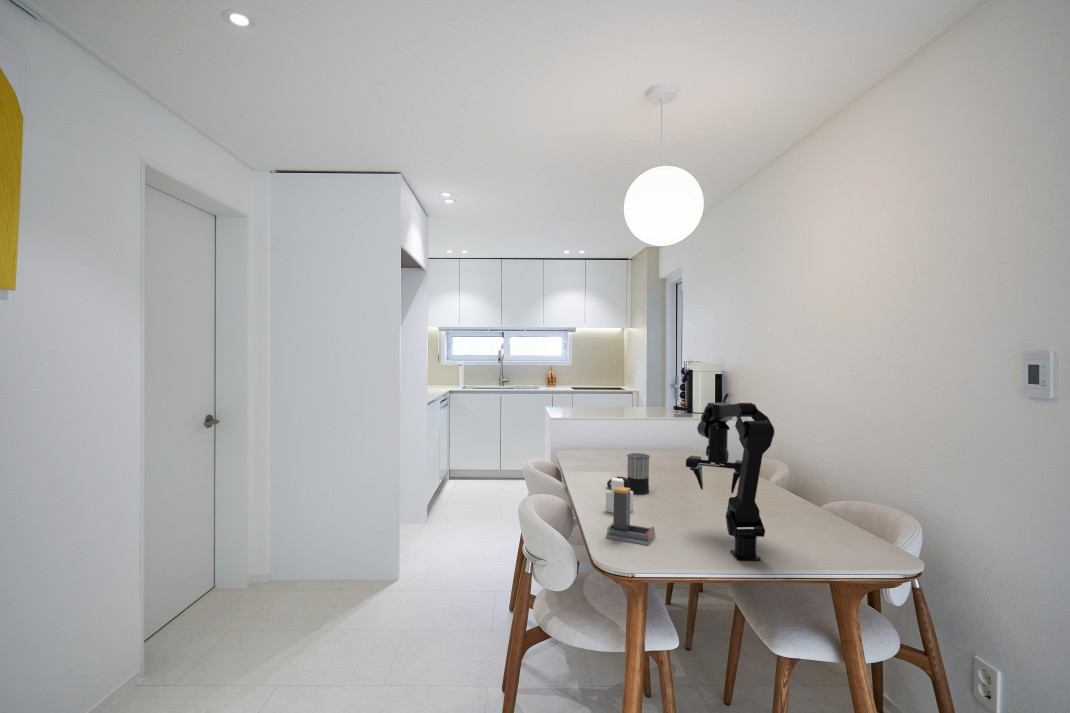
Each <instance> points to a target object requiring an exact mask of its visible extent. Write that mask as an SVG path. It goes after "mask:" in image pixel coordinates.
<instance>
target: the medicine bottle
mask: <svg viewBox="0 0 1070 713" xmlns="http://www.w3.org/2000/svg"><path fill="white" fill-rule="evenodd" d="M610 479H611V483H610V485H611V488H610V490H607V491H606V492H605V512H607V513H610V514H614V489H615V488H617V487H625V488H628V482H629V480H628V479H627V477H624V476H614V477H612V478H610ZM633 511H634V494H633V491H630V513H631V512H633Z"/></svg>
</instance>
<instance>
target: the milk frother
mask: <svg viewBox="0 0 1070 713" xmlns="http://www.w3.org/2000/svg"><path fill="white" fill-rule="evenodd" d="M626 456H627V471H626V472H627V477H626V478H627V479H628V480H629V482H628V488H630V491H633V495H646V494H649V493H650V484H649V483H650V481H649V480H650V477H649V476H650V458H651V456H650V455H649V454H646V453H640V452H635V453H628V454H626ZM611 479H612V478H610V479H609V480H608V481H607V483H606V486H607V487H608V488H609V489H611Z"/></svg>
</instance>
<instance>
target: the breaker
mask: <svg viewBox="0 0 1070 713" xmlns="http://www.w3.org/2000/svg"><path fill="white" fill-rule="evenodd" d="M612 519H613V522H612V523H613V529H618V530H624V531H629V530H630V525H631V512H630V488H625V487H617V488H615V489H614V513H613V518H612Z"/></svg>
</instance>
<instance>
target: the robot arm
mask: <svg viewBox="0 0 1070 713" xmlns="http://www.w3.org/2000/svg"><path fill="white" fill-rule="evenodd" d="M733 418H736V421H735V425H734V427H735V428H736V431H737V434H738V437H739V442H740V444H741V446H742V448H743V453H742V459H741V460H740V459H739V460H738V459H737V460H735V462H730V461H729V457H730V456H729V450H728V439H729V437H728V436H729V434H728V432H729V430H730V429H731V428H730V426H729V425H728V424H727V422H728V421H731V420H732V419H733ZM742 418H751V419H752V420H744V421H743V420H742ZM696 429H697V432H698V434H699V435H700V436H701V437H704V438H706V439H708V441H707V443H708V444H707V445H706V448H705V455H706V457H707V459H702V456H700V455H699V456H697V455H689V456H688V457H687V458H686V459H685V468H689V470H690V471H692V472H693V473H694V475H695V477H696V480H697V482H698V486H699V487H700V490H702V491H703V489H704V481H703V466H704V467H713V468H722V469H730V470H731V469H733V470H734V471H733V475H732V481H731V482H732V483H731V489H730V490H731V491H730V492H731V494H733V493H734V491H735V488H736V487H737V493H736V495H735V496H732V497H731V496H730V497H729V498H728V502H727V503H728V504H727V508H726V513H725V521H726V529H727V533H728V535H729V536H732V537H734V549H730V551H729V552H730V553H731V554H732V556H734V558H735V559H736V560H738V561H761V560H762V558H761V557H760V556H759V555H758V554H757V540H758V539H757V538H758V537H759V538H761V537H762V538H764V537H765V536H766V535H765V534H766V530H765V527H764V523H763V521H762V518H761V516H760V509H759V507H758V504H757V503H756V496H757V493H758V492H757V491H758V485H759V484H758V483H759V479H760V473H761V466H762V460H763V455H764V454H765V453H766V451H768V450H769V448H771V446H772V442H773V439H774V436H775V428H774V426H773V424H772V422H771V420H770V418H769V417H768V416H767V415H766V414H764V413H763V412H762V411H760V409H758V407H757V405H756V404H755V403H753V402H737V403H733V404H732V403H730V402H708V403H707V404H706V406H705V408H704V410H703V412H702V415H701V416H700V421H699V423H698V425H697V427H696ZM737 483H738V486H736V485H737Z"/></svg>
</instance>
